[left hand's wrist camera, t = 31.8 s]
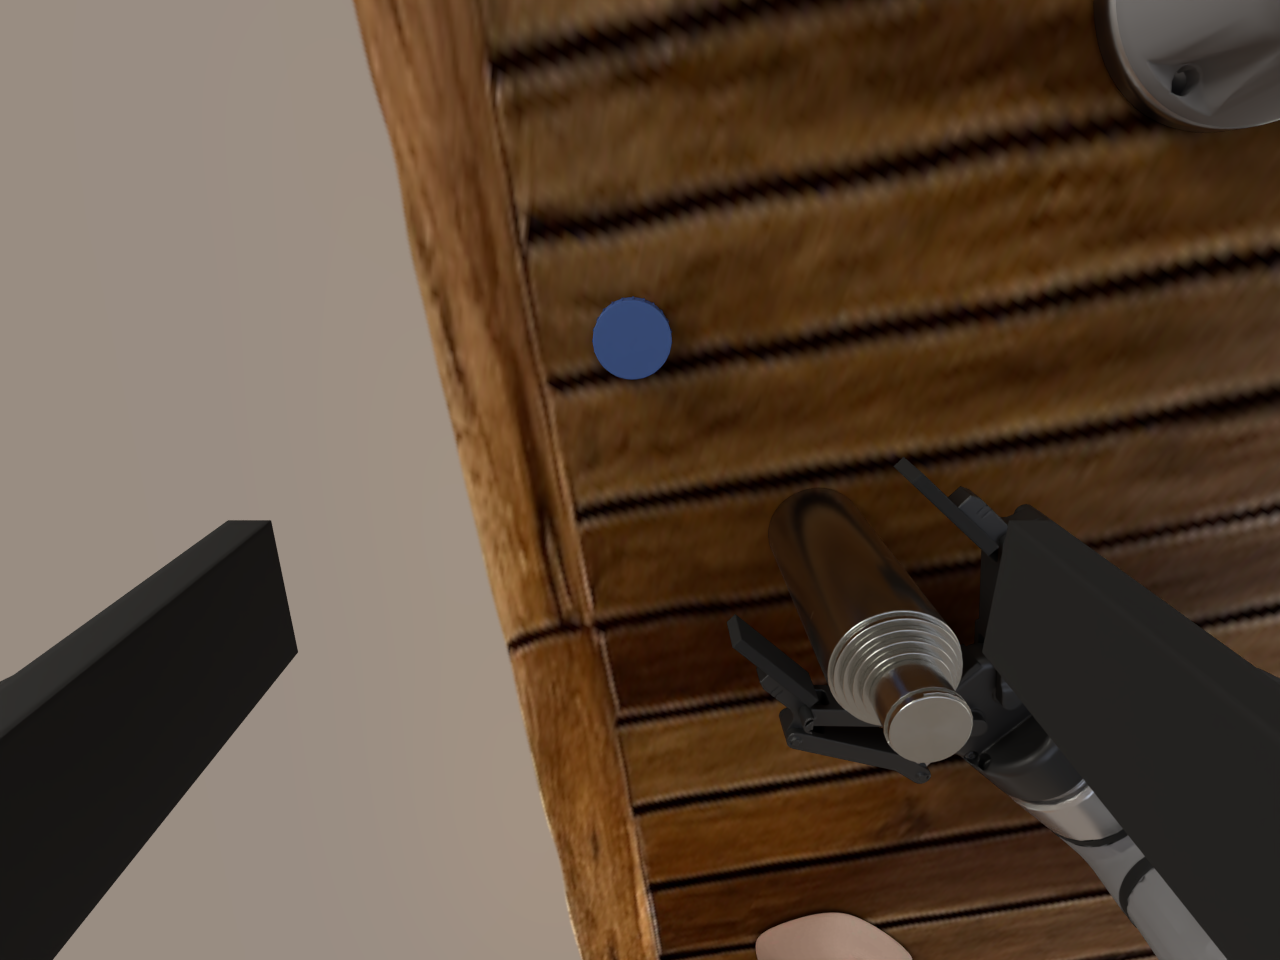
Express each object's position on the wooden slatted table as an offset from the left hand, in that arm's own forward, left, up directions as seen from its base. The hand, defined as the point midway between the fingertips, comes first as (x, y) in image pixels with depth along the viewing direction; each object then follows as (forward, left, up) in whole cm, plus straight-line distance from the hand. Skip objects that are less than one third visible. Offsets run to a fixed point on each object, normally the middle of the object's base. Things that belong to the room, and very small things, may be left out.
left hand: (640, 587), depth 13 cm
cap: (0, 0, -29) cm, 29 cm away
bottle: (-9, +15, -30) cm, 35 cm away
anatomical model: (-4, +56, -30) cm, 64 cm away
